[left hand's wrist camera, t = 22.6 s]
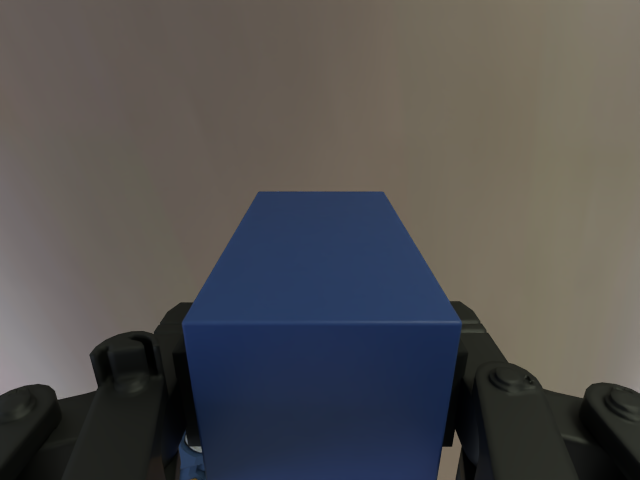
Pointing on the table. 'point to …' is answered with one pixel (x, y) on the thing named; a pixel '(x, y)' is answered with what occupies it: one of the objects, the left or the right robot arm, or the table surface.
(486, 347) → the left robot arm
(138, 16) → the table surface
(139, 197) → the table surface
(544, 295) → the table surface
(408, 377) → the block
